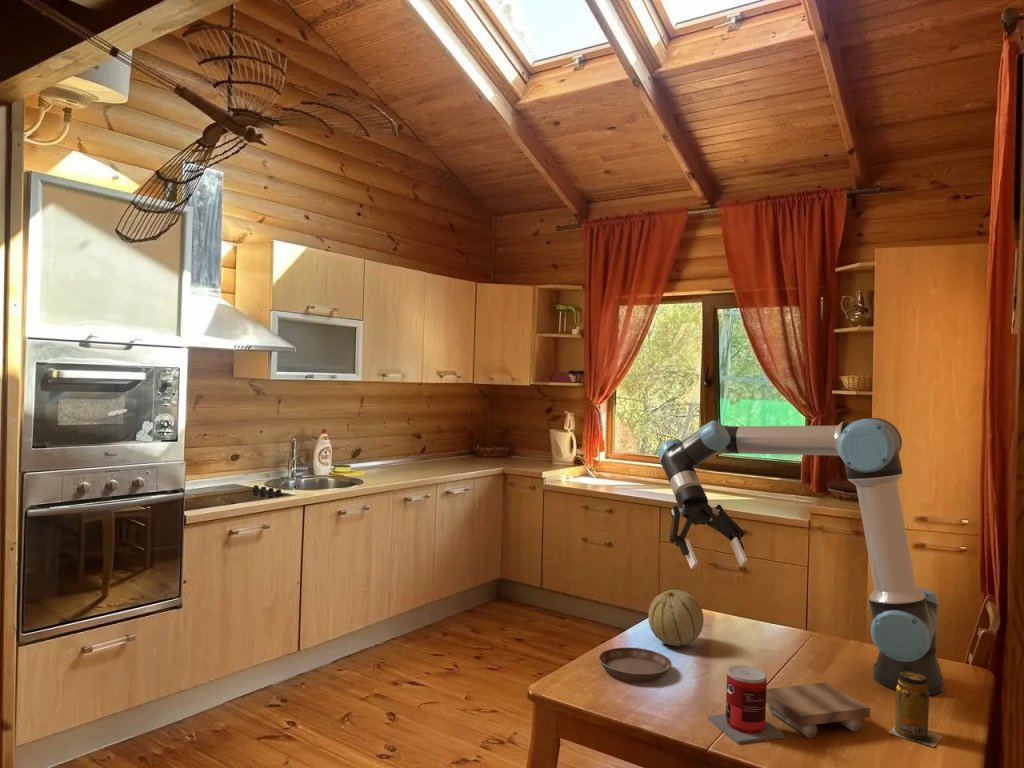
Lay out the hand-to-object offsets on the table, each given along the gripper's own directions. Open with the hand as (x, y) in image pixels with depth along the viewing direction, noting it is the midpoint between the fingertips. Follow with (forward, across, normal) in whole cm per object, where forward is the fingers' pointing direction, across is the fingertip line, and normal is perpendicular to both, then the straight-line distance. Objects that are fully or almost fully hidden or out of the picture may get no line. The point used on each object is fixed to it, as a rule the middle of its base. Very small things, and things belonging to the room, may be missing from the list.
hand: (719, 564), depth 178 cm
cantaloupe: (+3, -2, -36) cm, 36 cm away
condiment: (+44, -25, +5) cm, 51 cm away
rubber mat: (+36, +8, -3) cm, 37 cm away
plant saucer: (+13, +17, -26) cm, 34 cm away
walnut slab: (+37, -8, -2) cm, 38 cm away
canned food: (+36, +8, -3) cm, 37 cm away
